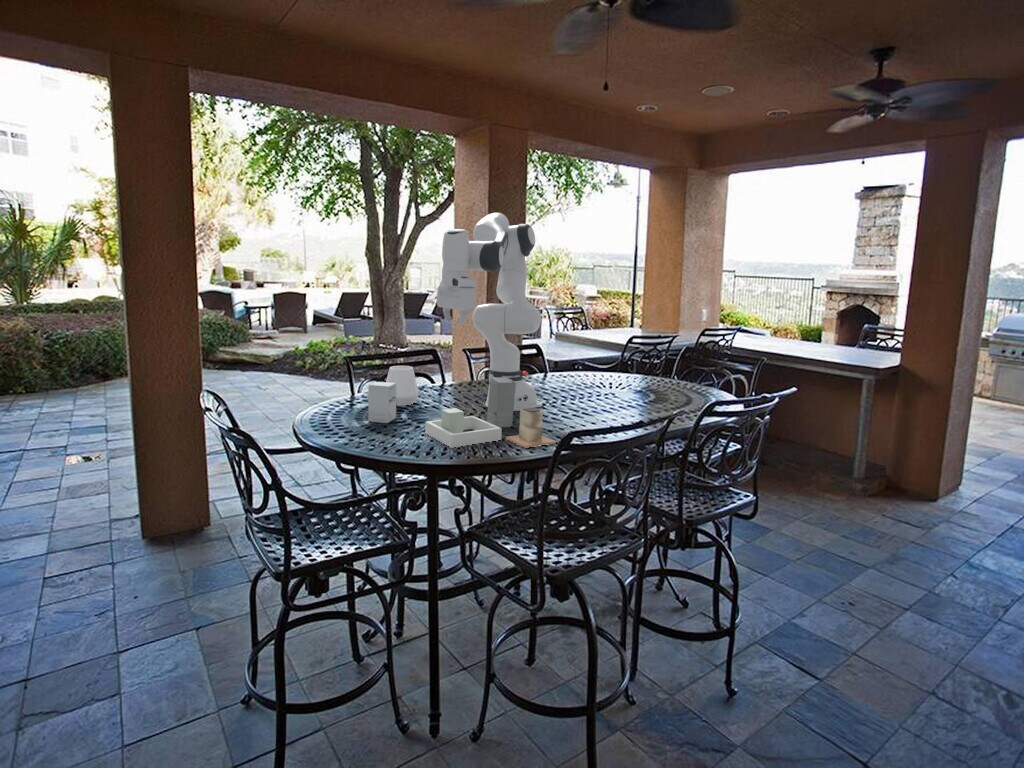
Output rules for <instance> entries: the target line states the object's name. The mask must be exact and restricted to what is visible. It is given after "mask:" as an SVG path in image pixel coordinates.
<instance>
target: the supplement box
mask: <svg viewBox="0 0 1024 768" xmlns="http://www.w3.org/2000/svg"><path fill="white" fill-rule="evenodd" d="M367 390H368V391H367V393H368V396H367V397H368V403H367V404H368V407H367V408H368V409H367V410H368V411H367V412H368V416H367V417H368V422H370V421H371V422H372V423H381V424H382V423H383V424H389V423H390V422H392V421H394V420H396V419H397V406H396V383H390V382H385V381H376V382H373V383H372V384H368V386H367ZM395 418H396V419H395Z"/></svg>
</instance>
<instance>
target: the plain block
mask: <svg viewBox="0 0 1024 768" xmlns="http://www.w3.org/2000/svg"><path fill="white" fill-rule="evenodd" d="M464 412H465V411H463V410H462V409H459V408H457V407H453V408H444V409H441V419H440V420H441V428H443V429H445V430H447V431H449V432H451V433H453V434H454V433H461V432H464V430H463V426H464V417H465V413H464Z"/></svg>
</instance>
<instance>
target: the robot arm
mask: <svg viewBox="0 0 1024 768" xmlns="http://www.w3.org/2000/svg"><path fill="white" fill-rule="evenodd" d="M472 234H473V235H472V236H473V240H470V237H469V231H468V230H466V229H463V228H454V229H453V228H452V229H450V228H449V229H447V230H445V231H444V234H443V237H442V238H443V240H442V251H441V258H442V268H441V281H440V282H439V285H438V287H437V292H436V306H437V307H438V308H442V312H443V316H444V321H445V322H446V323H451V322H452V316H451V312H450V311H451V310H455V311H456V310H457V311H459V314H460V315H459V318H458V320H457V321H458V325H462V326H463V325H466V319H467V316H468V314H469V312H472V314H471V315H472V316H471V321H472V324H473V326H474V328H475V329H476V330H477V331H478V332H479V333H481V334H482V336H483V337H484V338H485V340H486V342H487V344H488V348H489V357H490V358H489V359H490V367H489V368H490V369H489V370H488V391H487V398H486V401H485V404H484V406H485V407H486V408H488V401H489V390H490V378H491V377H507V378H509V379H511V380H512V381H514V382H516V389H515V399H514V410H513V412H520V410H521V409H525V408H540V407H543V402H541V401H539V400H537V399H538V398H537V392H536V389H535V388H534V387H533V386H532V385H530V384H529V383H528V382H527V381H525V380H524V378H523V377H525V378H526V377H527V378H528V371H526V370H523V371H522V370H521V369H520V365H521V364H520V361H521V359H520V358H521V351H520V348H518V346H517V345H515V344H514V343H512V342H510V341H508V340H507V339H506V337H505V335H506V334H507V335H508V334H509V335H511V334H512V335H527V334H534V333H536V332H537V331H538V329H540V326H541V323H542V315H541V312H540V311H539V309H538V308H537V307H535V306H534V305H533V304H531V303H530V302H529V300H528V298H527V293H526V288H527V279H528V268H527V266H528V265H527V262H526V258H525V257H527V258H528V257H529V256H530V254H531V251H532V250H533V249H534V247H535V245H536V234H535V232H534V229H533V227H532V226H530V224H528V223H519V224H516V225H510V222H509V219H508V217H507V216H506V215H505V214H504V213H501V212H492V213H489V214H487V215H485V216H483V217H482V218H481V219H480V220H478V222H476V224H475V225H474V228H473V233H472ZM470 271H481V272H490V273H496V272H497V271H499V273H498V277H497V284H496V290H495V291H496V296H497V298H498V299H499V300H500V302H502V303H483V304H478V305H477V304H476V301H477V292H476V288H477V284H478V282H477V280H476V279H475V278H473V277H472V276H471V275H470ZM476 305H477V306H476Z"/></svg>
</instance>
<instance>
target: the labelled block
mask: <svg viewBox="0 0 1024 768" xmlns="http://www.w3.org/2000/svg"><path fill="white" fill-rule="evenodd" d="M543 415H544V411H543V410H541V409H538V408H537V407H535V408H525V409H521V410H520V411H519V431H518V435H519V438H520V439H523V440H525V441H527V442H532V441H538V440H542V436H543V423H544V422H543V420H544V416H543Z"/></svg>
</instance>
